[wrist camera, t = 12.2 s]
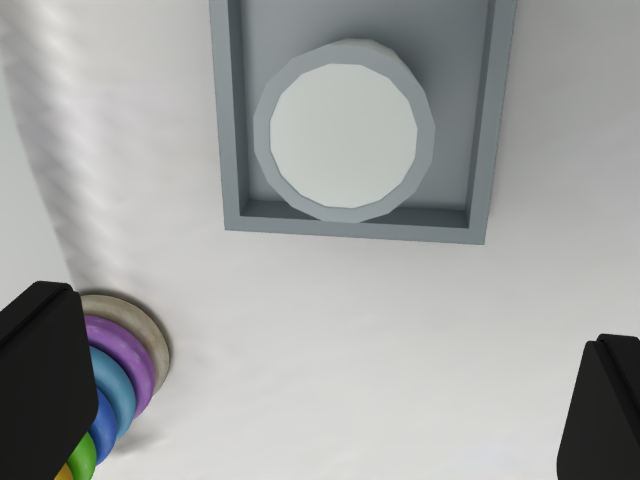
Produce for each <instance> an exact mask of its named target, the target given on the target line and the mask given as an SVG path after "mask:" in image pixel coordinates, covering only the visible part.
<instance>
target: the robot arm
mask: <svg viewBox="0 0 640 480" xmlns="http://www.w3.org/2000/svg"><path fill="white" fill-rule="evenodd" d="M98 409H99V400H98V394H97V388H96V382H95V377H94V371H93V365H92V359H91V353H90V347H89V342H88V336H87V330H86V324H85V318H84V312H83V306H82V301H81V297H80V295H79V293H78V292H75V291H73V288H72V287H71V285H69V284H67V283H58V282H48V281H37V282H35V283H33V284H32V285H31V286H30V287H29V288H27V289H26V290H25V291H24V292H23V293H22V294H20V295H19V296H18V297H17V298H16V299H15V300H14V301H12V302H11V303H10V304H9V305H8V306H6V307H5V308H4V309H3V310H2V311H1V312H0V480H54V479H55V477H56V476H57V475H58V473H59V472H60V470H61V469H62V467H63V466H64V464H65V463H66V462H67V460H68V459H69V457H70V456H71V454H72V453H73V451H74V450H75V448H76V447H77V446H78V444H79V443H80V441H81V440H82V438H83V437H84V435H85V434H86V433H87V431H88V430H89V428H90V427H91V425H92V424H93V422H94V421H95V419H96V416H97V413H98ZM557 477H558V480H640V340H639V339H638V338H637V337H634V336H623V335H613V334H600V335H599V336H598V338H597V340H596V341H588V342H587V343H586V345H585V348H584V351H583V355H582V359H581V363H580V367H579V371H578V375H577V379H576V383H575V387H574V391H573V395H572V399H571V403H570V407H569V411H568V415H567V419H566V423H565V427H564V431H563V435H562V439H561V444H560V448H559V452H558V456H557Z"/></svg>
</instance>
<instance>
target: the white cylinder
mask: <svg viewBox="0 0 640 480" xmlns="http://www.w3.org/2000/svg"><path fill="white" fill-rule="evenodd" d="M253 122H254V152H255V154H256V157H257V159H258V161H259V163H260V166H261V168H262V170H263V173H264V175H265V177H266V180H267V182H268V183H269V184H270V185H271V186H272V187H273V188H274V189H275V190H276V191H277V192H278V193H279V194H280V195H281V196H282V197H283V198H284V200H285V201H286V202H287V203H288V204H289V205H290V206H291V207H293V208H295V209H298V210H300V211H302V212H304V213H306V214H309V215H311V216H313V217H315V218H317V219H319V220H322V221H331V222H345V223H359V222H362V221H365V220H368V219H372V218H375V217H378V216H382V215H385V214H388V213H390V212H391V211H392V210H393V209H395V208H396V207H397V206H398V205H400V204H401V203H402V202H403V201H405V200H406V199H407V198H409V197H410V196H411V195H412V194H414V193H415V191H416V190H417V188H418V186H419V184H420V182H421V181H422V179H423V177H424V175H425V174H426V172H427V170H428V168H429V166H430V165H431V163H432V156H433V147H434V137H435V128H436V126H435V123H434V120H433V117H432V114H431V110H430V107H429V104H428V101H427V98H426V94H425V91H424V90H423V88H422V87H421V85H420V84H419V83H418V81H417V80H416V78H415V77H414V75H413V74H412V72H411V71H410V69H409V68H408V67H407V65H406V64H405V63H404V62H403V61H402V60H401V58H400V57H399V56H398V55H397V54H396V53H395V51H394V50H393V49H391V48H389V47H387V46H385V45H382V44H380V43H378V42H376V41H374V40H372V39H359V38H345V39H342V40H339V41H336V42H333V43H330V44H327V45H325V46H322V47H320V48H317V49H314V50H312V51H309V52H307V53H304V54H302V55H299V56H296V57H294V58H292V59H291V60H290V61H289V62H288V63H287V64H286V65H285V66H284V67H283V68H282V69H281V70H280V71H279V72H278V73H277V74H276V75H275V76H274V77H273V78H272V79H271V80H270V81H269V82H268V83H267V84H266V86H265V89H264V91H263V94H262V96H261V99H260V101H259V104H258V106H257V109H256V111H255V114H254V116H253Z"/></svg>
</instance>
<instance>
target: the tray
mask: <svg viewBox="0 0 640 480" xmlns="http://www.w3.org/2000/svg"><path fill="white" fill-rule="evenodd" d="M516 1H517V0H209V8H210V23H211V37H212V52H213V66H214V81H215V95H216V109H217V124H218V138H219V153H220V167H221V182H222V196H223V210H224V225H225V230H231V231H249V232H266V233H284V234H301V235H318V236H336V237H353V238H371V239H388V240H406V241H423V242H440V243H458V244H475V245H484V243H485V235H486V228H487V220H488V213H489V205H490V197H491V190H492V182H493V175H494V167H495V160H496V152H497V145H498V137H499V130H500V122H501V114H502V107H503V99H504V92H505V84H506V77H507V69H508V62H509V54H510V47H511V39H512V31H513V24H514V16H515V9H516ZM345 38H359V39H372V40H374V41H376V42H378V43H380V44H382V45H385V46H387V47H389V48H391V49H393V50H394V51H395V53H396V54H397V55H398V56H399V57H400V58H401V60H402V61H403V62H404V63H405V64H406V65H407V67H408V68H409V69H410V71H411V72H412V74H413V75H414V77H415V78H416V80H417V81H418V83H419V84H420V85H421V87H422V88H423V90H424V91H425V94H426V98H427V101H428V104H429V107H430V110H431V114H432V117H433V120H434V123H435V126H436V128H435V137H434V147H433V156H432V163H431V165H430V166H429V168H428V170H427V172H426V174H425V175H424V177H423V179H422V181H421V182H420V184H419V186H418V188H417V190H416V191H415V193H414V194H412V195H411V196H410V197H409V198H407V199H406V200H405V201H403V202H402V203H401V204H400V205H398V206H397V207H396V208H395V209H393V210H392V211H391V212H390V213H388V214H385V215H382V216H378V217H375V218H372V219H368V220H365V221H362V222H359V223H345V222H331V221H322V220H319V219H317V218H315V217H313V216H311V215H309V214H306V213H304V212H302V211H300V210H298V209H295V208H293V207H291V206H290V205H289V204H288V203H287V202H286V201H285V200H284V198H283V197H282V196H281V195H280V194H279V193H278V192H277V191H276V190H275V189H274V188H273V187H272V186H271V185H270V184H269V183H268V182H267V180H266V177H265V175H264V173H263V170H262V168H261V166H260V163H259V161H258V159H257V157H256V154H255V152H254V122H253V116H254V114H255V111H256V109H257V106H258V104H259V101H260V99H261V96H262V94H263V91H264V89H265V86H266V84H267V83H268V82H269V81H270V80H271V79H272V78H273V77H274V76H275V75H276V74H277V73H278V72H279V71H280V70H281V69H282V68H283V67H284V66H285V65H286V64H287V63H288V62H289V61H290V60H291V59H292V58H294V57H296V56H299V55H302V54H304V53H307V52H309V51H312V50H314V49H317V48H320V47H322V46H325V45H327V44H330V43H333V42H336V41H339V40H342V39H345Z"/></svg>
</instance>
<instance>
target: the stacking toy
mask: <svg viewBox="0 0 640 480" xmlns="http://www.w3.org/2000/svg"><path fill="white" fill-rule="evenodd" d="M80 297H81V301H82V306H83V312H84V318H85V324H86V330H87V336H88V342H89V347H90V353H91V359H92V365H93V371H94V377H95V382H96V388H97V394H98V400H99V409H98V413H97V416H96V419H95V421H94V422H93V424H92V425H91V427H90V428H89V430H88V431H87V433H86V434H85V435H84V437H83V438H82V440H81V441H80V443H79V444H78V446H77V447H76V448H75V450H74V451H73V453H72V454H71V456H70V457H69V459H68V460H67V462H66V463H65V464H64V466H63V467H62V469H61V470H60V472H59V473H58V475H57V476H56V477H55V479H54V480H90V479H91V478H92V476H93V473H94V470H95V467H96V466H97V465H98V464H100V463H101V462H102V461H103V460H104V459H105V458H106V457H107V456H108V454H109V453H110V452H111V450H112V448H113V446H114V443H115V441H117V440H118V439H119V438H120V437H122V436H123V434H124V433H125V432H126V431H127V430H128V428H129V426H130V425H131V423H132V420H133V419H135V418H136V417H137V416H139V415H140V414H141V413H142V412H143V411H144V409H145V408H146V407H147V405H148V404H149V402H150V400H151V398H152V396H153V395H154V394H155V393H156V392H157V391H158V390H159V389H160V387H161V386H162V384H163V383H164V381H165V379H166V376H167V373H168V368H169V352H168V348H167V345H166V342H165V340H164V337H163V335H162V334H161V332H160V330H159V328H158V327H157V326H156V324H155V323H154V322H153V321H152V320H151V319H150V317H149V316H148V315H146V314H145V313H144V312H143V311H142V310H140V309H139V308H137V307H136V306H134V305H132V304H130V303H128V302H126V301H123V300H121V299H118V298H115V297H110V296H104V295H85V296H80Z"/></svg>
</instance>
